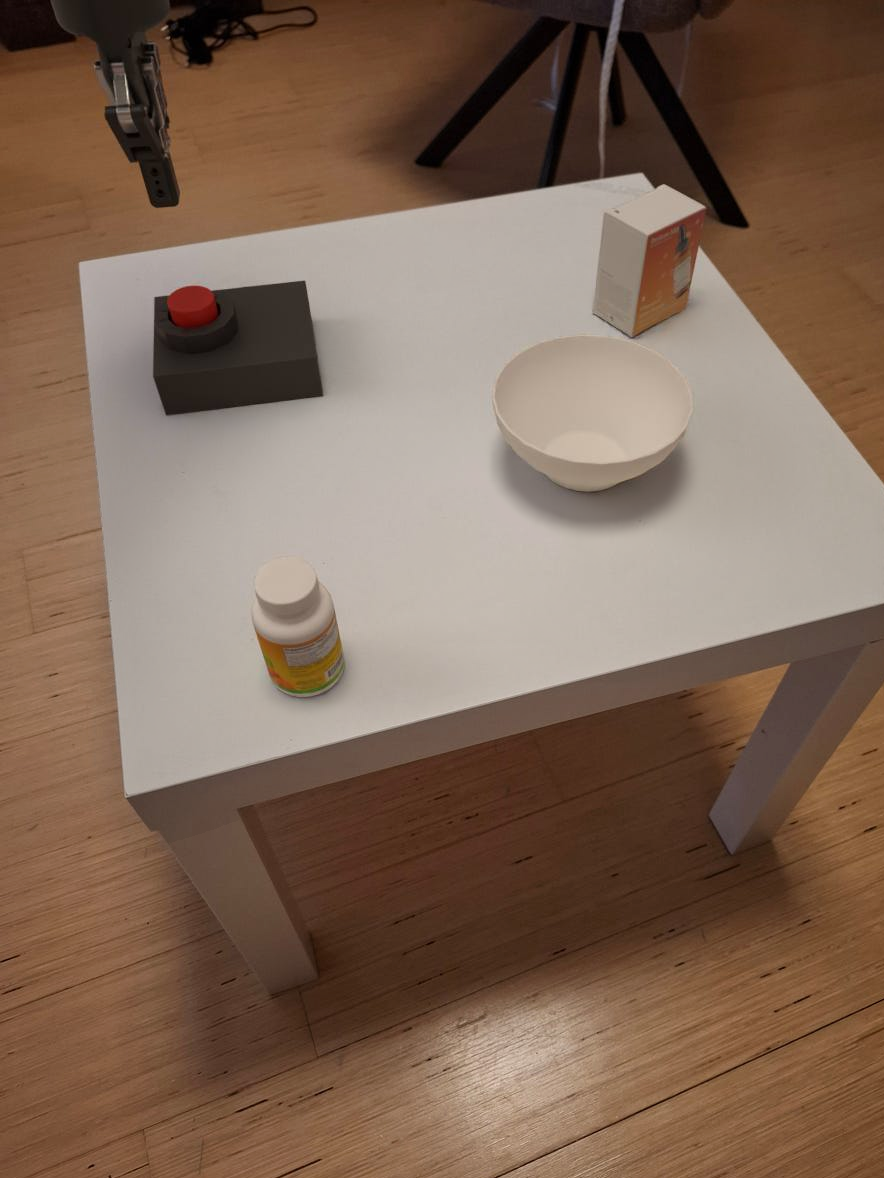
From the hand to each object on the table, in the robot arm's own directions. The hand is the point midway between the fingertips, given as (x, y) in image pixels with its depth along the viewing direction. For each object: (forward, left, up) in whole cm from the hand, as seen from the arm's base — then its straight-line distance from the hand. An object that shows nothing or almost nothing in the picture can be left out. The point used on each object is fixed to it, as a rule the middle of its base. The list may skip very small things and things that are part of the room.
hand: (166, 202), depth 74 cm
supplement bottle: (+6, -35, -17) cm, 39 cm away
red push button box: (+3, +1, -16) cm, 17 cm away
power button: (0, +1, -11) cm, 11 cm away
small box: (+42, +2, -17) cm, 45 cm away
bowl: (+31, -18, -17) cm, 39 cm away
